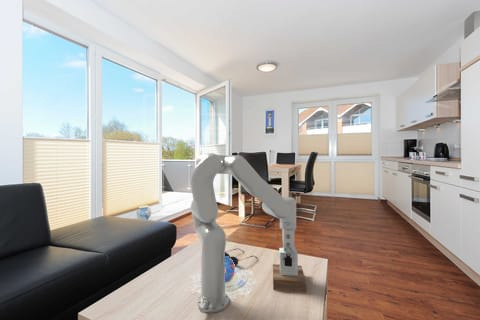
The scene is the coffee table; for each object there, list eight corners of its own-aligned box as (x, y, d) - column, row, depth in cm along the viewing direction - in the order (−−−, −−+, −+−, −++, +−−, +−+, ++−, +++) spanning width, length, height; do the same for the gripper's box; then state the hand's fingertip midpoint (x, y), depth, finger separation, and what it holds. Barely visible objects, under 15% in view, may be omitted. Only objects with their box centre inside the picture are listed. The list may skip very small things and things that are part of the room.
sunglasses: (221, 259, 129) (222, 251, 129) (242, 253, 139) (242, 245, 139) (237, 268, 118) (238, 259, 118) (258, 261, 129) (259, 252, 129)
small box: (296, 270, 107) (296, 248, 107) (298, 276, 101) (297, 253, 101) (279, 269, 108) (279, 247, 108) (280, 275, 102) (279, 252, 102)
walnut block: (306, 293, 97) (306, 281, 97) (273, 290, 99) (273, 279, 99) (301, 275, 111) (301, 265, 111) (272, 274, 113) (272, 264, 113)
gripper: (297, 231, 95) (297, 271, 96) (295, 219, 112) (295, 253, 113) (279, 230, 97) (279, 269, 97) (279, 218, 114) (280, 252, 114)
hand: (288, 260), depth 105 cm, fingers open, 9 cm apart
